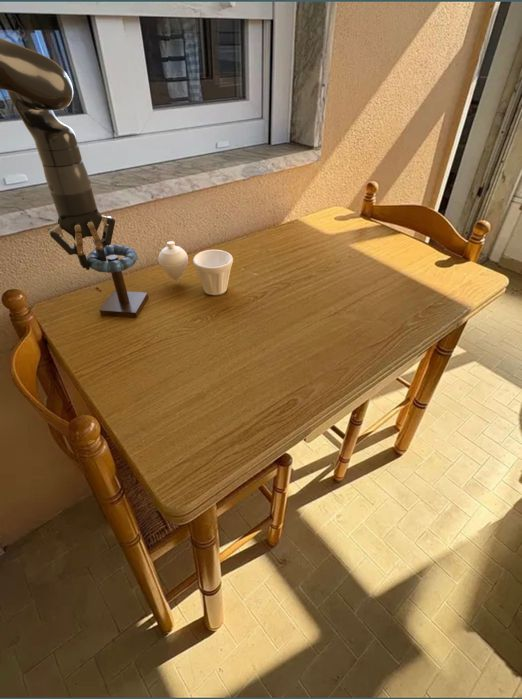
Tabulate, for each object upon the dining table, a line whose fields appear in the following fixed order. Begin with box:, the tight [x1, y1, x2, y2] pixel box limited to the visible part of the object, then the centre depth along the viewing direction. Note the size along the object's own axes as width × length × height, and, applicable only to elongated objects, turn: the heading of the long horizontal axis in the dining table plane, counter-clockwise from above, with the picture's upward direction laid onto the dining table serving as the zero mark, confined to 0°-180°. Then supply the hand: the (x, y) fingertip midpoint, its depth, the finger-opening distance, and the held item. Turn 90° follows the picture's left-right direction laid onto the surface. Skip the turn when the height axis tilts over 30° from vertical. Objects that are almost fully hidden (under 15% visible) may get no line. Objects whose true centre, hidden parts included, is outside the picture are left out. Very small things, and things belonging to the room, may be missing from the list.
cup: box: [192, 249, 234, 297], centre depth 99 cm, size 10×10×9 cm
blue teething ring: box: [86, 244, 138, 274], centre depth 87 cm, size 11×11×2 cm
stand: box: [98, 255, 149, 319], centre depth 91 cm, size 9×9×14 cm
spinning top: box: [157, 240, 189, 285], centre depth 100 cm, size 8×8×12 cm
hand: (94, 266), depth 85 cm, fingers closed on blue teething ring, 2 cm apart
